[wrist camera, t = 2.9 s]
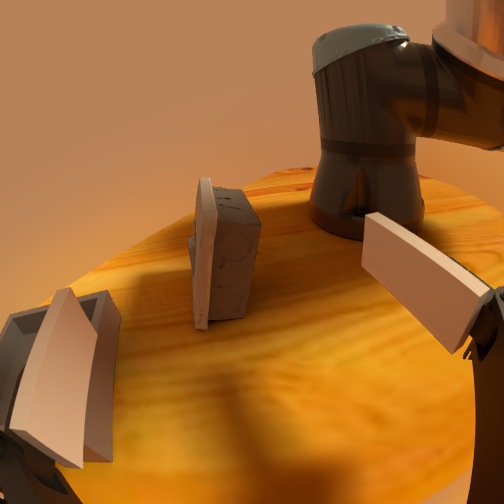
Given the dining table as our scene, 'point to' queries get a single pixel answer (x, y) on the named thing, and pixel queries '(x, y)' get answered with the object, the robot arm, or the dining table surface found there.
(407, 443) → the dining table surface
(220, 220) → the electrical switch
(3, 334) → the box
